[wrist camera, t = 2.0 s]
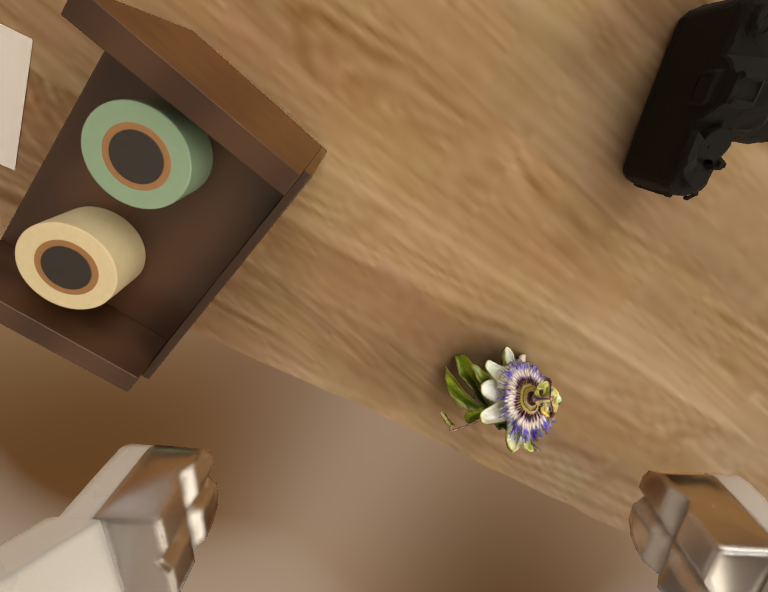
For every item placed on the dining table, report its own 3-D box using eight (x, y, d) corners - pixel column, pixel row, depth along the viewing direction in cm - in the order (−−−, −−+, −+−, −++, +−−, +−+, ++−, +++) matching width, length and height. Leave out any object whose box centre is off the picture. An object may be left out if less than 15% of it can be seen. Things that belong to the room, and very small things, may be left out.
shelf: (77, 218, 38) (-75, 283, 25) (192, 30, 33) (75, -16, 19) (205, 302, 43) (135, 396, 29) (327, 151, 37) (308, 181, 24)
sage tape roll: (101, 153, 27) (60, 162, 23) (146, 76, 25) (110, 73, 21) (183, 212, 29) (157, 229, 25) (231, 145, 27) (211, 153, 23)
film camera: (699, 196, 41) (783, 220, 33) (609, 181, 40) (673, 203, 32) (787, 16, 34) (918, -9, 26) (682, -8, 33) (786, -41, 25)
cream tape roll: (42, 251, 30) (-3, 273, 26) (80, 187, 28) (37, 201, 24) (121, 299, 32) (90, 326, 28) (161, 243, 30) (133, 264, 26)
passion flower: (503, 334, 53) (590, 390, 45) (461, 403, 55) (538, 468, 47) (459, 323, 45) (557, 390, 37) (412, 405, 47) (495, 484, 39)
